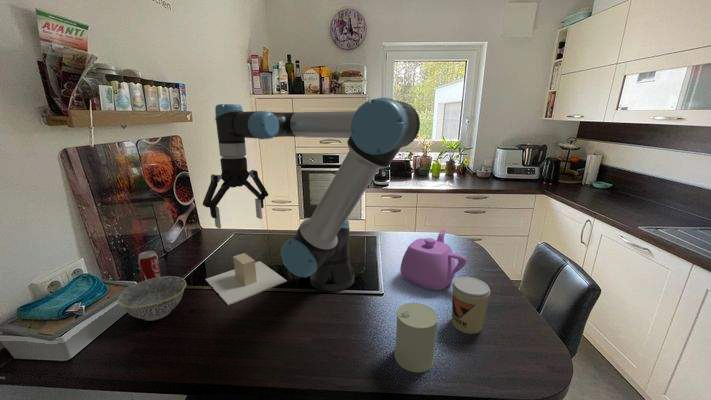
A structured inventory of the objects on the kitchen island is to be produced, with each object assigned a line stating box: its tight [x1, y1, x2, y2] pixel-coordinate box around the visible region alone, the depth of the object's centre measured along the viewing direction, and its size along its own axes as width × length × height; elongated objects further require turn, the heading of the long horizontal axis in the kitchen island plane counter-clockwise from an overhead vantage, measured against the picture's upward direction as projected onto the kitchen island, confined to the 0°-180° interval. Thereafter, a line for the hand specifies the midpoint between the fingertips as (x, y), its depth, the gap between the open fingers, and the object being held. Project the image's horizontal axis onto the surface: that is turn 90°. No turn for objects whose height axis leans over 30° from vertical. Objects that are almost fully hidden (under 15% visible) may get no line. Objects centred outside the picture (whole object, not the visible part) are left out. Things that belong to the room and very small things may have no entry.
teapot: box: [399, 230, 467, 291], centre depth 103 cm, size 23×21×15 cm
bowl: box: [116, 275, 187, 322], centre depth 84 cm, size 16×16×8 cm
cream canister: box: [451, 276, 491, 335], centre depth 80 cm, size 9×9×12 cm
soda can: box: [137, 250, 162, 282], centre depth 97 cm, size 5×5×12 cm
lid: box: [204, 252, 288, 306], centre depth 101 cm, size 20×20×9 cm
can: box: [394, 302, 439, 374], centre depth 68 cm, size 9×9×12 cm
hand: (239, 222), depth 97 cm, fingers open, 13 cm apart
